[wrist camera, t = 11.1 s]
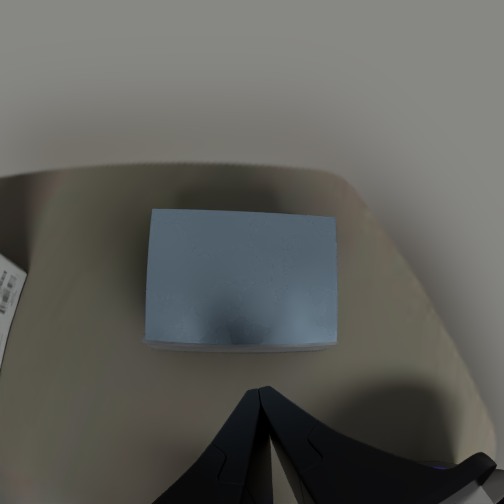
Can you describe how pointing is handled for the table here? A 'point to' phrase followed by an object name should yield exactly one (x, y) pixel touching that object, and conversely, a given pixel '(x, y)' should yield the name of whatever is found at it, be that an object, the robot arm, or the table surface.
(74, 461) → the table surface
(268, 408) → the robot arm
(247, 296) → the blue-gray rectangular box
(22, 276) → the hard drive box
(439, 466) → the grey blue curved block
